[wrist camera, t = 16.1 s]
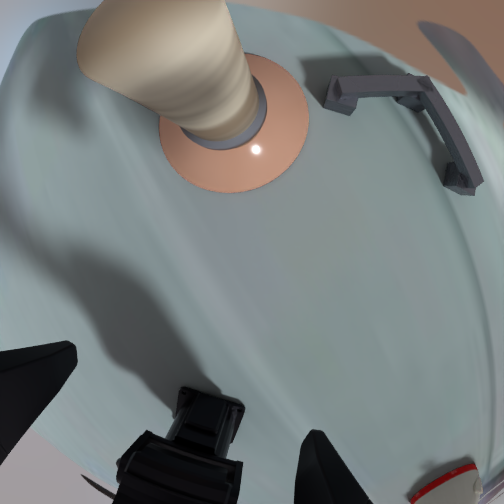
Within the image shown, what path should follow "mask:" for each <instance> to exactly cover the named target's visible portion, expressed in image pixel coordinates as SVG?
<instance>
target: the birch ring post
mask: <svg viewBox="0 0 504 504" xmlns="http://www.w3.org/2000/svg"><path fill="white" fill-rule="evenodd" d="M77 62H78V65H79V68H80V70H81V71H82V73H83V74H84V75H85V76H86V77H88V78H90V79H91V80H93V81H95V82H98V83H100V84H102V85H104V86H106V87H108V88H110V89H112V90H114V91H116V92H118V93H120V94H122V95H124V96H126V97H128V98H129V99H131V100H133V101H135V102H137V103H139V104H141V105H143V106H145V107H146V108H148V109H150V110H152V111H154V112H156V113H157V114H159V115H161V116H163V117H165V118H166V119H168V120H170V121H172V122H173V123H175V124H177V125H179V126H180V128H181V130H182V132H183V133H184V134H185V135H186V136H187V137H188V138H189V139H190V140H191V141H193V142H195V143H196V144H198V145H200V146H202V147H205V148H207V149H211V150H229V149H235V148H239V147H242V146H244V145H246V144H248V143H249V142H250V141H252V140H253V139H254V138H255V137H256V136H257V134H258V133H259V131H260V129H261V127H262V126H263V124H264V121H265V119H266V115H267V100H266V96H265V92H264V89H263V87H262V85H261V84H260V82H259V81H258V80H257V79H256V78H255V76H253V75H252V74H251V71H250V68H249V66H248V63H247V60H246V57H245V54H244V51H243V48H242V46H241V43H240V40H239V37H238V35H237V32H236V29H235V27H234V24H233V21H232V19H231V16H230V13H229V11H228V8H227V6H226V3H225V1H224V0H104V1H103V2H102V3H101V4H100V5H99V6H98V7H97V8H96V10H95V11H94V12H93V13H92V15H91V16H90V18H89V19H88V21H87V22H86V24H85V26H84V28H83V30H82V33H81V35H80V38H79V41H78V46H77Z"/></svg>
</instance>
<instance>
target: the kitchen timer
mask: <svg viewBox="0 0 504 504" xmlns="http://www.w3.org/2000/svg"><path fill="white" fill-rule="evenodd" d="M482 493H483V489H482V483H481V478H480V477H479V472H478V470H477V467H476V465H475V464H469V465H465V466H462V467H460V468H457V469H455V470H453V471H451V472H449V473H447V474H445V475H444V476H442V477H440V478H438V479H436V480H435V481H433V482H432V483H430V484H428V485H427V486H426V487H424V488H423V489H421V490H420V491H419V492H418V493H417V494H415V495H414V496H413V498H412V499H411V504H478V501H479V497H480V494H482Z"/></svg>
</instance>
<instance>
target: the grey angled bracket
mask: <svg viewBox="0 0 504 504" xmlns="http://www.w3.org/2000/svg"><path fill="white" fill-rule="evenodd" d="M388 96H398V97H397V103H399V104H401V105H403V106H406V107H408V108H410V109H412V110H414V111H416V112H420V111H422V110H424V109H426V111H427V112H428V114H429V115H430V117H431V119H432V120H433V122H434V124H435V126H436V127H437V129H438V131H439V133H440V135H441V136H442V138H443V140H444V142H445V144H446V146H447V148H448V150H449V152H450V154H451V156H452V158H453V160H454V162H450V163H448V164H447V170H446V175H445V181H444V187H446V188H448V189H450V190H452V191H454V192H456V193H458V194H460V195H469V196H475V190H476V187H477V186H479V185H480V184H481V183H483V182H484V180H483V177H482V175H481V172H480V170H479V168H478V165H477V163H476V161H475V158H474V156H473V154H472V152H471V150H470V148H469V145H468V143H467V141H466V139H465V137H464V135H463V133H462V131H461V130H460V128H459V126H458V124H457V122H456V120H455V119H454V117H453V115H452V113H451V112H450V110H449V108H448V106H447V105H446V103H445V102H444V100H443V98H442V97H441V95H440V94H439V92H438V91H437V89H436V87H435V86H434V85H433V83H432V82H431V80H430V78H429V77H428V76H414V75H412V74H410V73H408V74H407V75H361V76H344V77H338V76H335V75H332V77H331V80H330V83H329V85H328V90H327V94H326V99H325V103H324V107H323V108H325V109H329V110H332V111H335V112H338V113H342V114H345V115H348V116H350V115H351V114H352V113H353V111H354V110H355V109H356V106H357V101H358V98H365V97H388Z"/></svg>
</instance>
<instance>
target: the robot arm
mask: <svg viewBox="0 0 504 504" xmlns="http://www.w3.org/2000/svg"><path fill="white" fill-rule="evenodd" d="M77 363H78V359H77V350H76V346H75V345H74V344H73V343H71V342H70V341H67V340H66V341H60V342H55V343H49V344H44V345H38V346H32V347H26V348H20V349H13V350H7V351H0V465H1V464H2V463H3V461H4V460H5V459H6V457H7V456H8V454H9V453H10V452H11V450H12V449H13V448H14V446H15V445H16V444H17V443H18V441H19V440H20V438H21V437H22V436H23V435H24V434H25V432H26V431H27V430H28V429H29V427H30V426H31V425H32V424H33V422H34V421H35V420H36V419H37V417H38V416H39V415H40V414H41V413H42V411H43V410H44V409H45V408H46V407H47V405H48V404H49V403H50V402H51V401H52V399H53V398H54V397H55V396H56V395H57V393H58V392H59V391H60V389H61V388H62V387H63V385H64V384H65V382H66V381H67V379H68V378H69V376H70V375H71V373H72V372H73V370H74V369H75V367H76V366H77ZM184 391H185V392H184ZM239 409H241V410H239ZM244 412H245V406H243V405H241V404H237V403H234V402H230V401H227V400H223V399H220V398H217V397H214V396H211V395H207V394H204V393H201V392H198V391H196V390H193V389H190V388H187V387H181V388H180V390H179V395H178V402H177V410H176V417H175V420H174V422H173V424H172V426H171V428H170V430H169V432H168V433H167V435H166V437H165V438H163V437H160V436H158V435H155V434H153V433H152V432H150V431H148V430H146V431H145V432H144V433H143V434H142V435H140V436H139V438H138V439H137V440H136V441H135V442H134V443H133V444H132V445H131V446H130V448H129V449H128V450H127V451H126V452H125V453H124V454H123V455H122V457H121V458H119V459H118V460H117V462H116V465H117V467H118V471H117V475H116V480H117V483H119V484H120V485H119V488H118V491H117V494H116V496H115V498H114V501H113V503H112V504H237V500H238V496H239V491H240V484H241V476H242V468H243V462H241V461H233V460H229V459H226V456H227V453H228V449H229V445H230V444H231V443H232V442H233V440H234V438H235V435H236V433H237V430H238V428H239V425H240V423H241V420H242V417H243V415H244ZM368 499H369V497H368V496H367V495H366V493H365V492H364V490H363V489H362V487H361V486H360V485H359V483H358V482H357V480H356V479H355V477H354V476H353V475H352V473H351V472H350V470H349V469H348V467H347V466H346V464H345V463H344V461H343V460H342V459H341V457H340V456H339V454H338V453H337V451H336V450H335V448H334V447H333V445H332V444H331V442H330V441H329V439H328V438H327V436H326V435H325V433H324V432H323V431H321V430H315V429H312V430H311V431H310V432H309V433H308V435H307V436H306V438H305V439H304V441H303V442H302V445H301V449H300V455H299V461H298V467H297V473H296V479H295V492H294V504H373V503H372V501H371V500H370V499H369V500H368Z"/></svg>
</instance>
